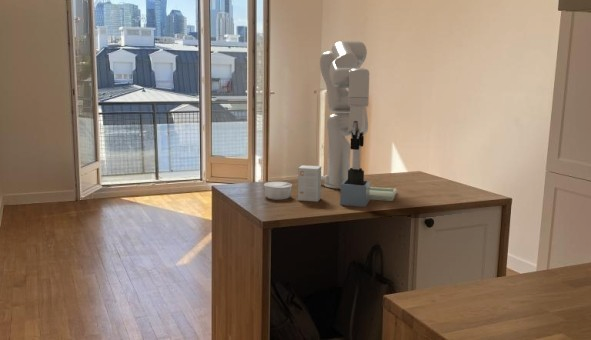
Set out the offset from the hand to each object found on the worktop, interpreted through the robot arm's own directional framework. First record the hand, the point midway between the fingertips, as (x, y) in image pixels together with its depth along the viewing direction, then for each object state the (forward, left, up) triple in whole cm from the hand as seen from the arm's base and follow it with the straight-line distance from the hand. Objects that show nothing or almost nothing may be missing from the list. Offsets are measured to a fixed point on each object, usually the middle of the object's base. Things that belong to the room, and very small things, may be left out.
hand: (357, 147), depth 226 cm
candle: (0, 0, -22) cm, 22 cm away
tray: (+6, +15, -22) cm, 27 cm away
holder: (0, 0, -22) cm, 22 cm away
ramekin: (-31, 0, -22) cm, 38 cm away
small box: (-18, 0, -22) cm, 28 cm away
